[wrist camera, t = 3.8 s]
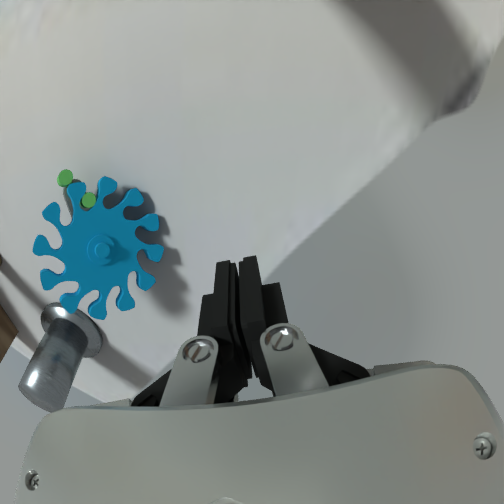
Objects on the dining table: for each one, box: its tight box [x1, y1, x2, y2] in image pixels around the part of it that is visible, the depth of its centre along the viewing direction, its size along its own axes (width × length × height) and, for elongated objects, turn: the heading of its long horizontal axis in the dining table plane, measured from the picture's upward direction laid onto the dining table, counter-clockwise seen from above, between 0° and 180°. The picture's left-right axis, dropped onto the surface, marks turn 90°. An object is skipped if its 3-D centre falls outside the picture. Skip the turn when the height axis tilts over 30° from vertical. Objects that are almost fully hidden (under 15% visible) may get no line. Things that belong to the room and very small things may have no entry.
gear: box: [33, 169, 164, 320], centre depth 19 cm, size 11×6×10 cm
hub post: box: [18, 302, 102, 413], centre depth 23 cm, size 8×8×10 cm
